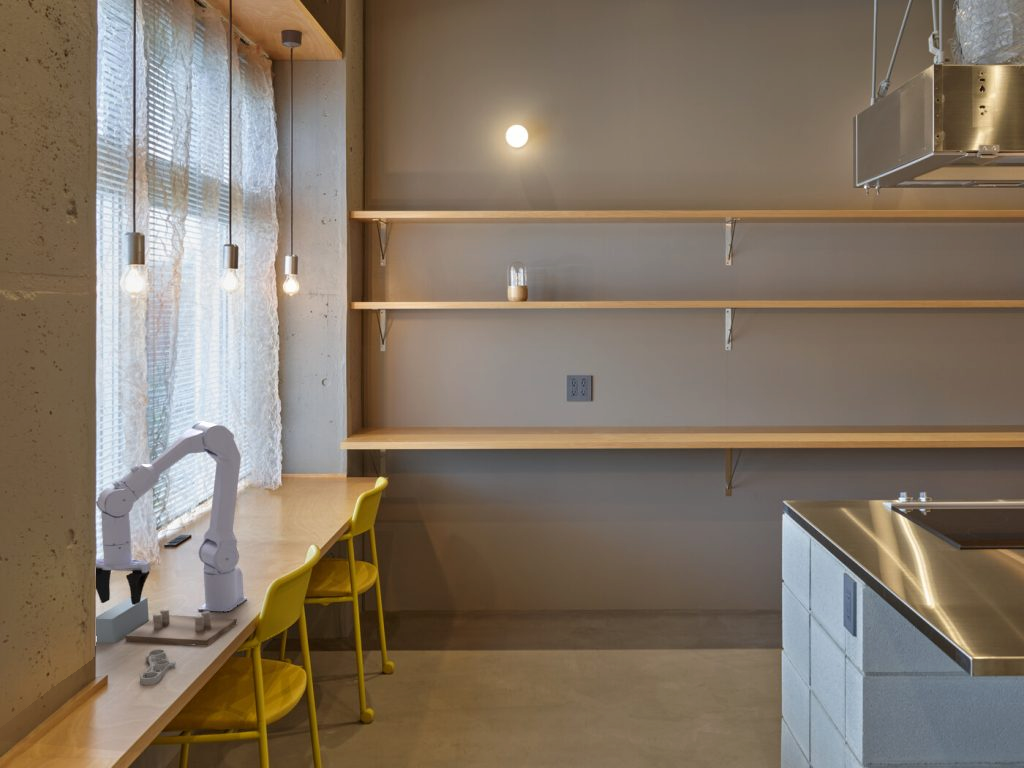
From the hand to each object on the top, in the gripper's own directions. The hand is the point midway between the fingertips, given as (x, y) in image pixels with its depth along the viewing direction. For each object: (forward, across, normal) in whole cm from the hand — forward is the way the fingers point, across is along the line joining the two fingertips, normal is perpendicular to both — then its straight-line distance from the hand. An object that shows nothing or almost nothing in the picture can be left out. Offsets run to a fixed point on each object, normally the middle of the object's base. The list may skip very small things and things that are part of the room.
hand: (120, 602), depth 202 cm
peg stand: (+6, +14, +1) cm, 16 cm away
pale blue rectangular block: (+7, 0, 0) cm, 7 cm away
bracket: (+7, +20, -18) cm, 28 cm away
